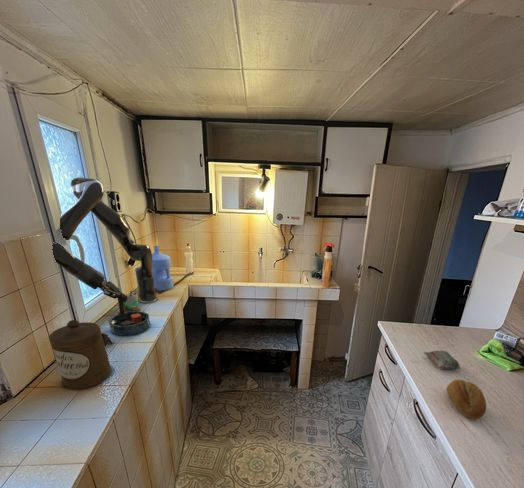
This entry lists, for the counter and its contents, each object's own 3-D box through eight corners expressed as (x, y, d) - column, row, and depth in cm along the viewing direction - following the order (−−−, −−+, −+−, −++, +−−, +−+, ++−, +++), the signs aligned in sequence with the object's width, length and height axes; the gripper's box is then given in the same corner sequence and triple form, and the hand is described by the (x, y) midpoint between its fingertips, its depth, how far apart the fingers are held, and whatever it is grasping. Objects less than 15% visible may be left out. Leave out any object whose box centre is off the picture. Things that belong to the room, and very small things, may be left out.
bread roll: (454, 419, 86) (463, 399, 83) (437, 389, 99) (444, 370, 96) (489, 425, 84) (500, 404, 81) (468, 393, 98) (475, 374, 94)
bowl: (120, 320, 144) (118, 311, 142) (155, 320, 145) (153, 311, 143) (103, 336, 128) (101, 326, 126) (142, 336, 129) (141, 326, 127)
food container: (135, 316, 149) (131, 298, 145) (123, 315, 149) (120, 298, 145) (144, 307, 160) (141, 290, 156) (133, 307, 160) (130, 290, 156)
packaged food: (436, 372, 108) (440, 361, 106) (421, 356, 119) (425, 346, 117) (459, 373, 108) (463, 363, 106) (442, 357, 119) (446, 347, 117)
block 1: (128, 327, 135) (126, 320, 133) (134, 329, 133) (133, 322, 132) (121, 331, 131) (119, 323, 130) (127, 333, 130) (126, 325, 128)
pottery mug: (119, 344, 123) (113, 334, 116) (104, 361, 118) (96, 352, 111) (96, 333, 125) (89, 323, 118) (80, 350, 119) (71, 340, 113)
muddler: (122, 312, 134) (118, 291, 130) (129, 314, 134) (126, 292, 129) (116, 315, 131) (112, 293, 126) (123, 317, 130) (120, 294, 125)
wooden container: (53, 384, 96) (33, 327, 87) (88, 361, 109) (73, 309, 100) (88, 393, 93) (71, 334, 84) (120, 368, 106) (108, 315, 97)
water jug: (144, 290, 187) (137, 247, 176) (159, 283, 201) (153, 243, 189) (164, 292, 183) (159, 249, 172) (178, 285, 197) (173, 245, 185)
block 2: (140, 320, 143) (138, 313, 141) (142, 323, 140) (141, 315, 138) (131, 322, 140) (130, 315, 139) (134, 325, 138) (133, 317, 136)
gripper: (93, 274, 115) (131, 298, 124) (97, 265, 126) (132, 289, 136) (81, 287, 115) (120, 311, 124) (87, 278, 127) (122, 300, 136)
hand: (126, 299), depth 130 cm, fingers closed on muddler, 2 cm apart
